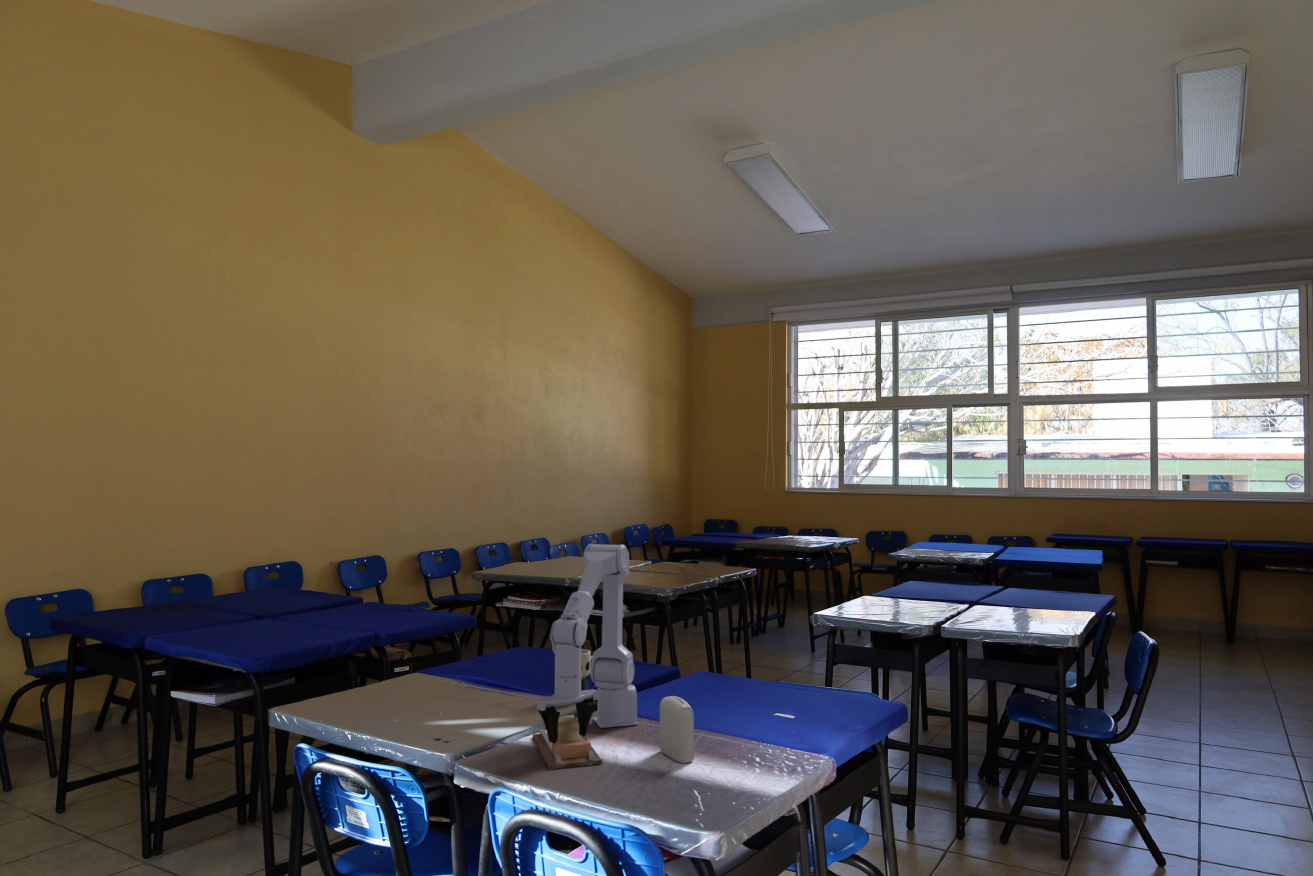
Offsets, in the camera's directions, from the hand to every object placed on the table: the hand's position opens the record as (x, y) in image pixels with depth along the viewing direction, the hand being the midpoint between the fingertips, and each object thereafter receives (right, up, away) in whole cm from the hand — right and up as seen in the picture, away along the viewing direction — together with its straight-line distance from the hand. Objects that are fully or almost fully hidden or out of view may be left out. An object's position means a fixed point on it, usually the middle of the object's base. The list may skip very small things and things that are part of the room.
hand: (567, 738), depth 174 cm
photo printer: (+24, -3, -2) cm, 24 cm away
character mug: (-2, -6, +44) cm, 45 cm away
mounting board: (-1, -3, +2) cm, 4 cm away
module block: (0, -2, +1) cm, 3 cm away
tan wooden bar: (+1, -3, -4) cm, 5 cm away
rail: (-1, -3, +2) cm, 4 cm away
